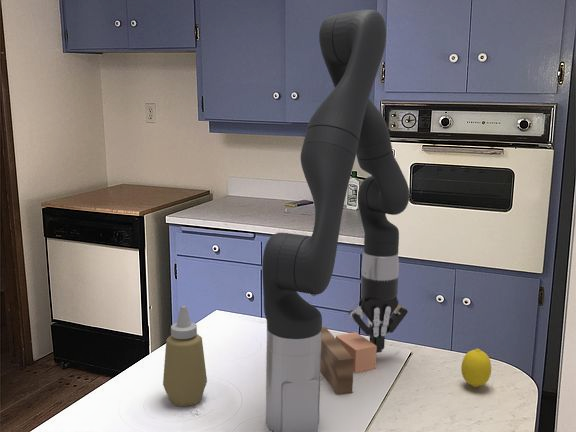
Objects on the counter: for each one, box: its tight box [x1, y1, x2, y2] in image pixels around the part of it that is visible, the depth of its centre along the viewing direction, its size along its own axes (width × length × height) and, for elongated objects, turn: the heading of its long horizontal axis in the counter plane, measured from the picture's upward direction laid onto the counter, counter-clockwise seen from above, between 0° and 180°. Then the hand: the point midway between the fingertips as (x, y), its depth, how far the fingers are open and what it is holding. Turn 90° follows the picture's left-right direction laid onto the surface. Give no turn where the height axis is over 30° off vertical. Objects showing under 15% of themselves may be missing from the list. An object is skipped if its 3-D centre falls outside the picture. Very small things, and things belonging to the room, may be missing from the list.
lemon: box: [460, 348, 492, 388], centre depth 118 cm, size 6×6×8 cm
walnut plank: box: [320, 326, 354, 395], centre depth 122 cm, size 16×3×7 cm, turn 16°
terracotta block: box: [335, 331, 377, 374], centre depth 128 cm, size 8×5×5 cm, turn 26°
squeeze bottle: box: [162, 305, 208, 407], centre depth 111 cm, size 8×8×18 cm
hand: (376, 351), depth 130 cm, fingers closed
